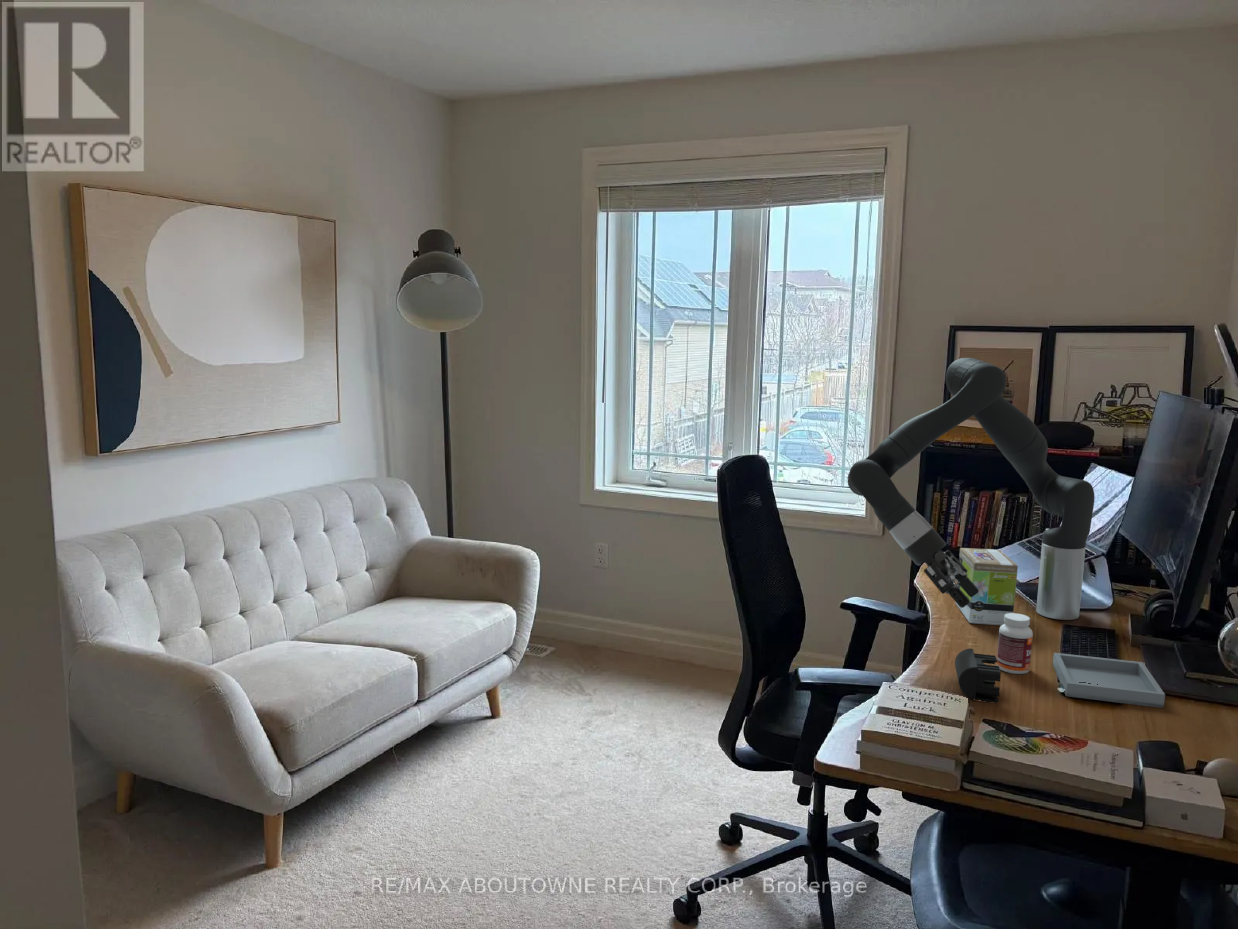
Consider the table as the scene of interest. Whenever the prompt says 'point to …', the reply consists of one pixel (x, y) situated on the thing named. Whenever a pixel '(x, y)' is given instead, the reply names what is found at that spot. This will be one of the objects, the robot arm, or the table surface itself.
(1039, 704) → the table surface
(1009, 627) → the pill bottle
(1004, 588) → the tea box
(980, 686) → the end cap
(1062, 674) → the tray
